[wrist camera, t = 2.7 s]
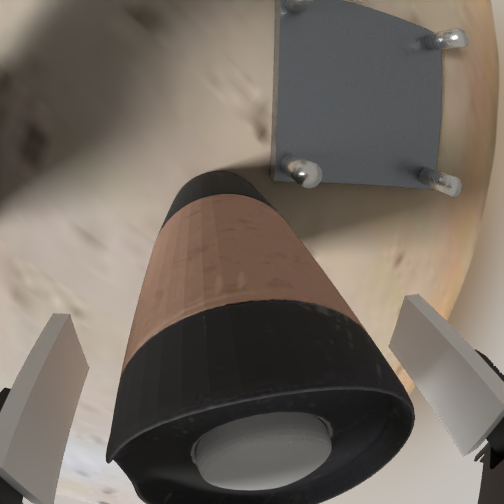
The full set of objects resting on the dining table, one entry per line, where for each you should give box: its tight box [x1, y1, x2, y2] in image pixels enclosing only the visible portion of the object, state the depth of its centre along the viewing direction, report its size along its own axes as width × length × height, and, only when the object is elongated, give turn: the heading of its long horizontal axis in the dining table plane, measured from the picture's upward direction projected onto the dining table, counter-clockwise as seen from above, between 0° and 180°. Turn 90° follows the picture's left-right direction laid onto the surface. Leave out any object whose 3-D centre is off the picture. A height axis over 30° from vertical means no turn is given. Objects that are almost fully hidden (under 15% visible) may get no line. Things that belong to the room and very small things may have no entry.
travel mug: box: [106, 171, 415, 504], centre depth 15 cm, size 8×8×20 cm
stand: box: [270, 0, 469, 197], centre depth 19 cm, size 15×15×6 cm
